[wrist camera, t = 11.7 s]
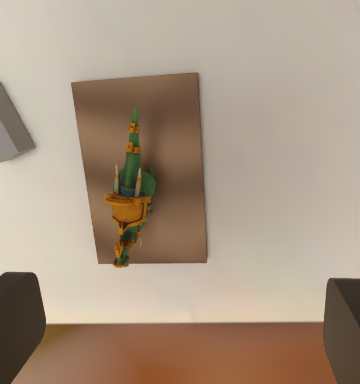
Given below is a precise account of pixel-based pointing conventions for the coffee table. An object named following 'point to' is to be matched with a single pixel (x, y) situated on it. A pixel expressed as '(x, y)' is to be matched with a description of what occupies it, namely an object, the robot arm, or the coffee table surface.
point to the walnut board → (146, 162)
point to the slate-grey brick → (12, 130)
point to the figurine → (131, 196)
